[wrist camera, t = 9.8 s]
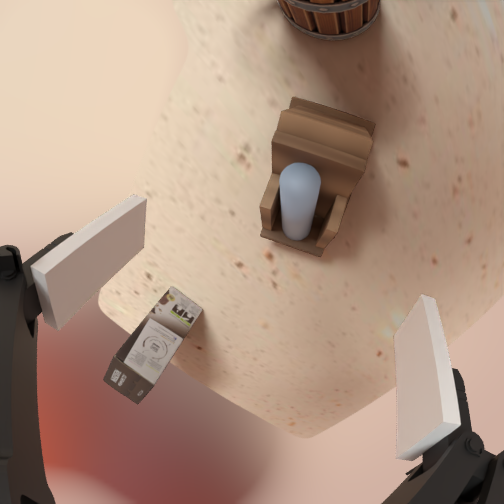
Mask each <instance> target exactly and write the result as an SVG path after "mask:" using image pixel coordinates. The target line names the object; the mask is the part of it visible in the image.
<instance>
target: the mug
mask: <svg viewBox="0 0 504 504" xmlns="http://www.w3.org/2000/svg"><path fill="white" fill-rule="evenodd" d="M277 2H278V4H279V6H280V8H281V10H282V12H283V14H284V16H285V17H286V18H287V20H288V21H289V22H290V23H291V24H292V25H293V26H294V27H296V28H297V29H299V30H300V31H302V32H303V33H305V34H308V35H310V36H313V37H315V38H320V39H324V40H344V39H348V38H351V37H354V36H357V35H359V34H360V33H362V32H364V31H365V30H367V29H368V28H369V27H370V26H371V25H372V23H373V22H374V21H375V19H376V17H377V15H378V13H379V9H380V0H277Z"/></svg>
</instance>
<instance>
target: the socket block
mask: <svg viewBox="0 0 504 504" xmlns="http://www.w3.org/2000/svg"><path fill="white" fill-rule="evenodd" d="M374 127H375V123H373V122H370V121H367V120H365V119H362V118H359V117H356V116H354V115H351V114H348V113H345V112H342V111H339V110H336V109H333V108H330V107H327V106H324V105H320V104H317V103H314V102H310V101H307V100H304V99H300V98H297V97H292V100H291V104H290V107H289V109H287V110H284V111H281V115H280V119H279V123H278V126H277V130H276V131H275V134H274V136H273V139H272V175H271V177H270V180H269V183H268V185H267V188H266V190H265V193H264V196H263V198H262V201H261V204H260V213H261V220H262V227H263V228H262V231H261V234H260V236H261V237H264V238H266V239H269V240H272V241H275V242H278V243H281V244H284V245H287V246H290V247H292V248H295V249H298V250H301V251H304V252H307V253H310V254H313V255H315V256H318V257H321V256H322V253H323V250H324V248H325V247H326V246H327V245H328V243H329V242H330V241H331V240H332V239H333V238H335V235H336V234H337V232H338V229H339V226H340V222H341V220H342V217H343V214H344V212H345V209H346V207H347V204H348V201H349V199H350V196H351V193H352V191H353V189H354V187H355V186H356V184H357V183H358V181H359V180H360V178H361V176H362V175H363V173H364V171H365V167H366V163H367V158H368V155H369V153H370V150H371V147H372V144H373V140H372V138H371V136H372V133H373V130H374ZM293 163H306V164H308V165H311V166H312V167H314V168H315V169H316V170H317V172H318V173H319V175H320V179H321V185H320V190H319V194H318V199H317V204H316V208H315V213H314V217H313V222H312V226H311V230H310V233H309V235H308V236H307V237H306V238H304V239H302V240H298V241H296V240H291V239H289V238H288V237H287V236H286V235H285V234H284V232H283V229H282V214H281V198H280V183H279V179H280V175H281V173H282V171H283V170H284V169H285V168H286V167H287V166H289V165H291V164H293Z"/></svg>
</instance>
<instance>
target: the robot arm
mask: <svg viewBox="0 0 504 504" xmlns="http://www.w3.org/2000/svg"><path fill="white" fill-rule="evenodd" d="M146 203H147V198H144V197H141V196H137V195H134V194H133V195H132V196H130V197H128V198H127V199H125V200H124V201H122V202H120V203H119V204H117V205H116V206H114V207H113V208H111V209H110V210H108V211H107V212H105V213H104V214H102V215H101V216H99V217H98V218H97V219H95V220H93V221H92V222H90V223H89V224H87V225H86V226H84V227H83V228H82V229H80V230H79V231H77V232H76V233H75V234H74V233H72V232H71V233H68V234H65V235H62V236H60V237H58V238H57V239H55V240H54V241H53V242H52V243H51V244H48V245H47V246H46V247H45V248H44V249H42V250H40V251H39V252H38V253H36V254H35V255H33V256H32V257H31V258H29V259H28V260H27V261H26V262H24V263H23V264H22V260H21V255H20V251H19V249H18V248H17V247H15V246H13V245H5V246H1V247H0V504H55V500H54V497H53V495H52V492H51V491H50V489H49V487H48V484H47V481H46V476H45V471H44V464H43V456H42V449H41V440H40V430H39V418H38V403H37V333H38V320H37V316H38V315H39V314H40V313H41V312H42V314H43V317H44V320H45V323H47V324H48V325H50V326H51V327H53V328H55V329H56V330H58V331H59V330H60V329H61V328H62V327H63V326H64V325H65V324H66V323H67V322H68V321H69V320H70V319H71V318H72V317H73V316H74V315H75V314H76V313H77V312H78V310H80V309H81V307H82V306H83V305H84V304H85V303H86V302H87V301H88V300H89V299H91V298H92V296H93V295H95V293H96V292H98V291H99V290H100V289H101V288H102V287H103V286H104V285H105V284H106V283H107V282H108V281H109V280H110V279H111V278H112V277H113V276H114V275H115V274H116V273H117V272H118V271H119V270H120V269H121V268H123V267H124V266H125V265H126V264H127V263H128V262H129V261H130V260H131V259H132V258H133V257H134V256H135V255H136V254H138V253H139V252H140V251H141V250H142V249H143V248H144V236H145V218H146ZM394 349H395V366H396V392H397V439H396V459H402V460H409V461H413V460H415V459H416V458H418V457H419V456H421V455H422V454H423V462H422V463H421V464H419V465H418V466H416V467H415V468H413V469H412V470H410V471H409V472H407V473H406V475H409V474H410V473H411V474H410V475H409V476H408V477H407V478H406V479H405V480H404V481H403V482H402V483H401V484H400V486H399V487H398V488H397V489H396V490H395V491H394V492H393V493H392V494H391V495H390V496H389V497H388V498H387V499H386V500H385V501H384V502H383V503H382V504H504V451H502V452H501V453H499V454H498V455H497V456H496V455H494V454H491V453H490V452H488V451H486V450H484V444H483V441H482V439H481V438H480V436H479V435H477V434H476V433H475V432H472V428H471V421H470V414H469V408H468V402H467V401H466V400H467V397H466V393H465V386H464V381H463V379H462V377H461V375H460V373H459V371H458V369H454V368H452V367H451V362H450V357H449V352H448V348H447V343H446V339H445V335H444V331H443V327H442V323H441V319H440V315H439V311H438V308H437V304H436V301H435V298H432V297H429V296H427V295H424V294H421V295H420V297H419V298H418V300H417V301H416V303H415V305H414V306H413V308H412V309H411V311H410V312H409V314H408V315H407V317H406V318H405V320H404V321H403V323H402V324H401V326H400V327H399V329H398V330H397V332H396V333H395V335H394Z"/></svg>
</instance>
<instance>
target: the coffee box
mask: <svg viewBox="0 0 504 504" xmlns="http://www.w3.org/2000/svg"><path fill="white" fill-rule="evenodd" d="M202 310H203V309H202V308H201V307H199V306H198V305H197V304H195V303H194V302H192V301H191V300H190V299H188V298H187V297H186V296H184V295H183V294H182V293H180V292H179V291H178V290H177V289H175V288H174V287H170V288H169V290H168V291H167V292H166V293H165V294H164V296H163V297H162V298H161V299H160V300H159V301H158V303H157V304H156V305H155V306H154V307H153V309H152V310H151V311H150V312H149V314H148V315H147V316H146V317H145V319H144V320H143V321H142V322H141V323H140V325H139V326H138V327H137V328H136V330H135V331H134V332H133V333H132V334H131V336H130V337H129V338H128V339H127V341H126V342H125V343H124V344H123V346H122V347H121V348H120V349H119V351H118V352H117V353H116V354H115V355H114V357H113V359H112V361H111V363H110V366H109V368H108V370H107V372H106V375H105V377H104V379H103V380H104V381H105V382H106V383H107V384H108V385H110V386H111V387H112V388H114V389H115V390H117V391H118V392H120V393H121V394H123V395H124V396H126V397H128V398H129V399H130V400H132V401H133V402H135V403H136V404H139V403H140V402H141V401H142V399H143V398H144V397H145V396H146V395H147V394H148V392H149V391H150V390H151V389H152V388H153V387H154V385H155V383H156V382H157V380H158V379H159V377H160V375H161V374H162V372H163V371H164V369H165V368H166V366H167V364H168V363H169V361H170V360H171V358H172V357H173V355H174V354H175V352H176V351H177V349H178V347H179V346H180V344H181V343H182V341H183V340H184V338H185V336H186V335H187V333H188V332H189V330H190V329H191V327H192V326H193V324H194V322H195V321H196V319H197V318H198V316H199V315H200V313H201V312H202Z"/></svg>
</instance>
